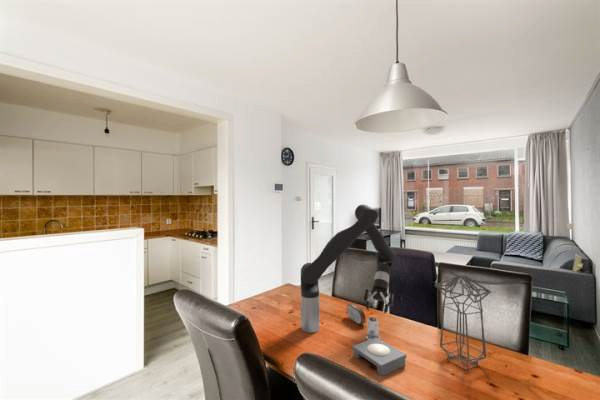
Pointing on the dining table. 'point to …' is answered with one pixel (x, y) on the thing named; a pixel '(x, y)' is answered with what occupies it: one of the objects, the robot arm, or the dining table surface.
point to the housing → (372, 328)
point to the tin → (356, 313)
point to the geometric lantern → (467, 280)
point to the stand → (380, 355)
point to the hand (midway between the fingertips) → (376, 311)
